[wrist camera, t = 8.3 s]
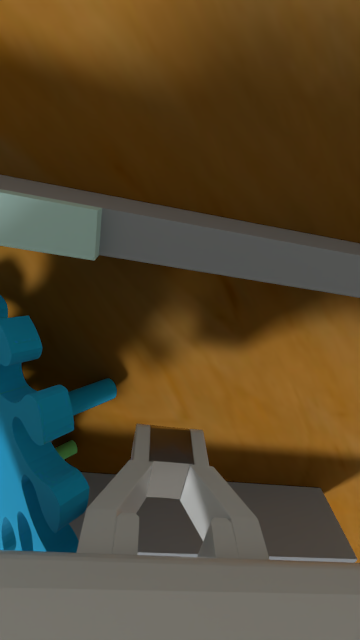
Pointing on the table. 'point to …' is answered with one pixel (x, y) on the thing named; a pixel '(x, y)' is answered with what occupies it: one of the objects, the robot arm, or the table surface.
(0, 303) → the gear
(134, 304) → the table surface
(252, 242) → the bay
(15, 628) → the robot arm
